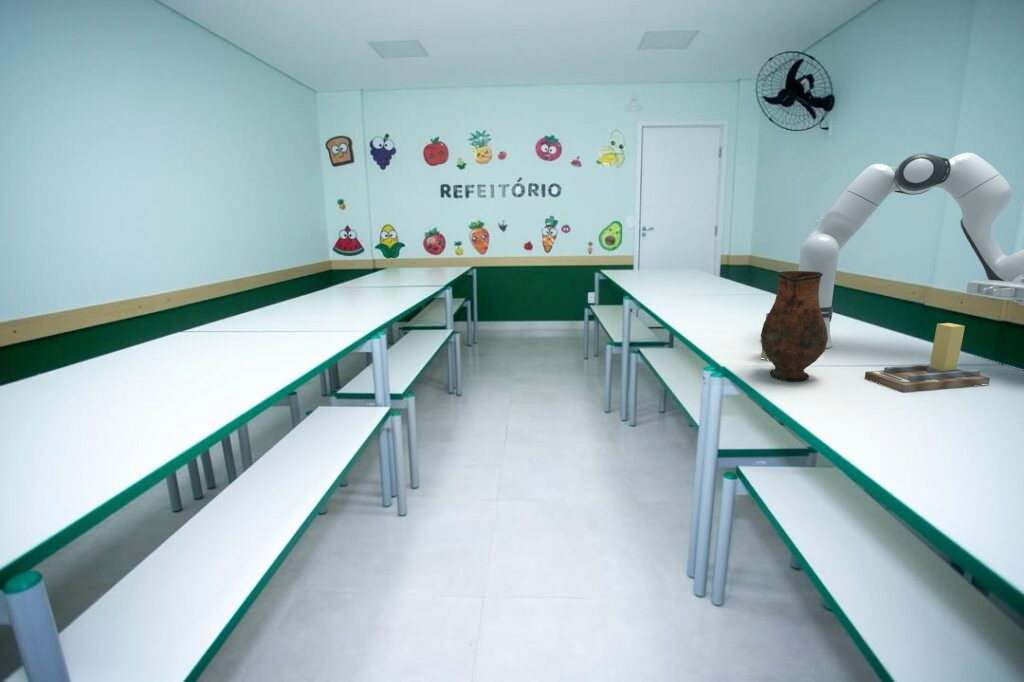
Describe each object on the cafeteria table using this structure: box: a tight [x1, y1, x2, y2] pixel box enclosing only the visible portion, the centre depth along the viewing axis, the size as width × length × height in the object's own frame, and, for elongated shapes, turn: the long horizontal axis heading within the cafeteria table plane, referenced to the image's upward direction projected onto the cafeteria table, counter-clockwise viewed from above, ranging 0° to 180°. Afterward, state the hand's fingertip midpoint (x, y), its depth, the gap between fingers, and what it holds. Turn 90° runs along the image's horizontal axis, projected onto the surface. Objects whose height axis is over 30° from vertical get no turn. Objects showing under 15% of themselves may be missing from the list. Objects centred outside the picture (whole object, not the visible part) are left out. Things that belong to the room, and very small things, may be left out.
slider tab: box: [927, 322, 966, 373], centre depth 134 cm, size 5×4×14 cm
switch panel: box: [864, 363, 991, 393], centre depth 135 cm, size 26×12×4 cm, turn 99°
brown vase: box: [760, 270, 828, 382], centre depth 142 cm, size 17×21×30 cm
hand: (988, 292), depth 132 cm, fingers closed
